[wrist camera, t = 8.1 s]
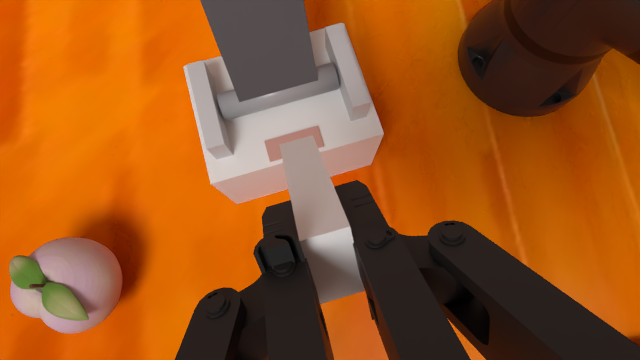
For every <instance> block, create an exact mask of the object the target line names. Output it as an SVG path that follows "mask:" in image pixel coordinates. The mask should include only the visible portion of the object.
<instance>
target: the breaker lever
mask: <svg viewBox="0 0 640 360" xmlns="http://www.w3.org/2000/svg"><path fill="white" fill-rule="evenodd" d="M200 1H201V3H202V6H203V8H204V11H205V14H206V16H207V19H208V22H209V24H210V27H211V29H212V32H213V35H214V37H215V40H216V43H217V45H218V48H219V50H220V53H221V56H222V58H223V61H224V63H225V66H226V69H227V71H228V74H229V77H230V79H231V82H232V84H233V87H234V89H233V90H229V91H226V92H222V93H219V94H217V99H218V103H219V107H220V110H221V112H222V115H223V117H224V119H225V120H226V121H227V120H230V119H234V118H237V117H241V116H245V115H248V114H252V113H255V112H259V111H262V110H266V109H269V108H273V107H277V106H280V105H284V104H287V103H291V102H294V101H298V100H301V99H305V98H309V97H312V96H316V95H319V94H323V93H326V92H330V91H333V90H337V89H339V82H338V77H337V73H336V69H335V67H334V64H333V63H332V62H331V63H327V64H323V65H320V66H316V65H315V60H314V55H313V49H312V44H311V38H310V33H309V27H308V22H307V17H306V11H305V6H304V0H200Z"/></svg>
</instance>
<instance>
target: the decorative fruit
mask: <svg viewBox="0 0 640 360" xmlns="http://www.w3.org/2000/svg"><path fill="white" fill-rule="evenodd" d="M9 273H10V277H11V279H12V282H11V288H10V295H11V299H12V301H13V303H14V305H15V306H16V308H17V309H18V310H19V311H20V312H21V313H23V314H25V315H27V316H30V317H34V318H42V320H43V321H44V323H45V324H46V325H48V326H49V327H50V328H52V329H54V330H56V331H58V332H62V333H79V332H83V331H86V330H88V329H91V328H93V327H94V326H96V325H98V324H99V323H101V322H102V321H103V320H104V319H106V318H107V317H108V316H109V315H110V313H111V312H112V311H113V309H114V308H115V306H116V305H117V303H118V300H119V297H120V294H121V289H122V271H121V268H120V265H119V262H118V260H117V258H116V256H115V255H114V254H113V253H112V251H110V250H109V249H108V248H107V247H106V246H104V245H102V244H100V243H99V242H96V241H94V240H91V239H86V238H78V237H66V238H60V239H56V240H53V241H50V242H48V243H46V244H44V245H42V246H41V247H39V248H38V249H37V250H35V251H34V252H33V253H32V254H31V255H30V256H28V257H27V256H21V255H19V256H15V257H13V258H12V260H11V261H10V265H9Z"/></svg>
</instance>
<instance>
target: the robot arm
mask: <svg viewBox="0 0 640 360" xmlns="http://www.w3.org/2000/svg"><path fill="white" fill-rule="evenodd" d="M612 48H614V49H616V50H617V51H619V52H620V53H622V54H624V55H626V56H627V57H629V58H630V59H632V60H634V61H635V62H637V63H638V64H640V0H492V1H491V2H490V3H488V4H487V5H486V6H484V7H483V8H482V9H481V10H480V11H479V12H478V13H477V14H476V15H475V16H474V17H473V18H472V20H471V21H470V23H469V25H468V26H467V28H466V30H465V32H464V33H463V35H462V38H461V40H460V44H459V48H458V62H459V67H460V71H461V74H462V76H463V78H464V80H465V82H466V84H467V85H468V87H469V88H470V89H471V91H472V92H473V93H474V94H475V95H476V96H477V97H478V98H479V99H480V100H482V101H483V102H484V103H486V104H487V105H489V106H490V107H492V108H494V109H496V110H498V111H501V112H504V113H507V114H510V115H515V116H524V117H532V116H540V115H545V114H548V113H551V112H553V111H555V110H557V109H559V108H561V107H562V106H564V105H565V104H566V103H568V102H569V101H571V100H572V99H574V98H575V97H576V96H577V95H578V94H579V93H580V92H581V91H582V90H583V89H584V88H585V86H586V85H587V84H588V82H589V80H590V78H591V77H592V75H593V73H594V72H595V70H596V68H597V67H598V65H599V63H600V61H601V60H602V58H603V56H604V55H605V54H606V53H607V52H608V51H609V50H611V49H612ZM279 145H280V150H281V155H282V160H283V165H284V170H285V174H286V179H287V184H288V189H289V194H290V198H291V200H290V201H286V202H283V203H279V204H276V205H272V206H269V207H266V209H265V212H264V214H263V216H262V224H263V234H264V235H263V236H264V238H263V239H261V240H260V241H259V242H258V244H257V245H256V246H255V249H254V253H253V254H254V256H255V258H256V261H257V263H258V265H259V268H260V270H261V273H262V275H261V276H260V278H259V279H258V280H257V281H255V282H254V283H253V284H251V285H250V286H248V287H247V288H245V289H243V290H242V291H240V292H238V291H236V290H234V289H232V288H220V289H216V290H214V291H212V292H210V293H208V294H207V295H206V296H205V297H204V298H202V299H201V300H200V301H199V303H198V305H197V306H196V308H195V310H194V313H193V315H192V318H191V320H190V323H189V325H188V328H187V330H186V333H185V335H184V338H183V340H182V343H181V346H180V348H179V351H178V353H177V356H176V358H175V360H334V357H333V353H332V349H331V344H330V340H329V336H328V332H327V327H326V323H325V319H324V316H323V313H322V309H321V306H320V304H322V303H325V302H328V301H332V300H335V299H338V298H342V297H345V296H348V295H352V294H355V293H358V292H362V291H366V294H367V299H368V303H369V308H370V312H371V317H372V320H373V319H374V320H375V323H376V326H377V328H378V331H379V334H380V336H381V339H382V342H383V345H384V347H385V350H386V353H387V355H388V358H389V360H471V359H470V358H469V356H468V354H467V352H466V351H465V349H464V347H463V345H462V344H461V342H460V340H459V338H458V337H457V335H456V333H455V331H454V330H453V328H452V326H451V324H450V323H449V321H448V319H449V320H450V321H451V323H452V324H453V325H454V326H455V327H456V328H457V329H458V330H459V331H460V332H461V333H462V334H463V335H464V336H465V337H466V338H467V340H468V341H469V342H470V343H471V344H472V345H473V346H474V347H475V348H476V349H477V350H478V351H479V352H480V353H481V354H482V355H483V357H484V358H485V359H486V360H640V347H639V346H638V345H637V344H635V343H634V342H632V341H631V340H630V339H628V338H627V337H625V336H624V335H623V334H621V333H620V332H618V331H617V330H616V329H614V328H613V327H611V326H610V325H609V324H607V323H606V322H604V321H603V320H602V319H600V318H599V317H597V316H596V315H595V314H593V313H592V312H590V311H589V310H588V309H586V308H585V307H583V306H582V305H581V304H579V303H578V302H576V301H575V300H574V299H572V298H571V297H569V296H568V295H567V294H565V293H564V292H562V291H561V290H559V289H558V288H557V287H555V286H554V285H552V284H551V283H550V282H548V281H547V280H545V279H544V278H543V277H541V276H540V275H538V274H537V273H536V272H534V271H533V270H531V269H530V268H529V267H527V266H526V265H524V264H523V263H522V262H520V261H519V260H517V259H516V258H515V257H513V256H512V255H510V254H509V253H508V252H506V251H505V250H503V249H502V248H501V247H499V246H498V245H496V244H495V243H494V242H492V241H491V240H489V239H488V238H487V237H485V236H484V235H482V234H481V233H480V232H478V231H477V230H475V229H474V228H473V227H471V226H469V225H467V224H465V223H463V222H459V221H443V222H440V223H437V224H435V225H434V226H433V227H431V228H430V230H429V232H428V236H406V235H401V234H399V233H398V232H397V231H396V230H395V229H393V228H391V227H389V225H388V224H387V222H386V220H385V218H384V217H383V215H382V213H381V211H380V209H379V208H378V206H377V204H376V202H375V200H374V199H373V197H372V195H371V193H370V191H369V190H368V188H367V186H366V185H364V184H363V183H361V182H359V181H358V180H356V181H353V182H349V183H346V184H342V185H339V186H335V187H334V186H333V183H332V181H331V178H330V176H329V173H328V171H327V169H326V166H325V164H324V161H323V159H322V156H321V154H320V152H319V149H318V147H317V144H316V142H315V139H314V137H313V135H311V136H308V137H304V138H300V139H297V140H293V141H290V142H286V143H283V144H279ZM364 288H365V290H364ZM447 318H448V319H447Z"/></svg>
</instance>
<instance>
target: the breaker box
mask: <svg viewBox="0 0 640 360" xmlns="http://www.w3.org/2000/svg"><path fill="white" fill-rule="evenodd" d="M309 33H310V38H311V44H312V49H313V55H314V60H315V65H316V66H320V65H323V64H327V63H331V62H332V63H333V64H334V67H335V69H336V73H337V77H338V82H339V89H337V90H333V91H330V92H326V93H323V94H319V95H316V96H312V97H309V98H305V99H301V100H298V101H294V102H291V103H287V104H284V105H280V106H277V107H273V108H269V109H266V110H262V111H259V112H255V113H252V114H248V115H245V116H241V117H237V118H234V119H230V120H227V121H226V120H225V119H224V117H223V115H222V112H221V110H220V107H219V103H218V99H217V94H219V93H222V92H226V91H229V90H233V89H234V87H233V84H232V82H231V79H230V77H229V74H228V71H227V69H226V66H225V63H224V61H223V58H222V56H219V57H216V58H212V59H208V60H205V61H204V60H201V61H198V62H194V63H190V64H187V65H186V66H183V67H184V72H185V76H186V80H187V85H188V89H189V93H190V97H191V102H192V106H193V110H194V114H195V119H196V123H197V127H198V132H199V136H200V140H201V144H202V149H203V153H204V157H205V161H206V166H207V170H208V174H209V179H210V183H211V184H212V185H213V186H214V187H215V188H217V189H218V190H219V191H221V192H222V193H223V194H225V195H226V196H227V197H228V198H230V199H231V200H232V201H234V202H235V203H236V204H239V203H243V202H246V201H249V200H253V199H256V198H260V197H263V196H266V195H270V194H273V193H277V192H280V191H283V190H287V189H288V184H287V179H286V174H285V170H284V165H283V160H282V155H281V150H280V145H279V144H283V143H286V142H290V141H293V140H297V139H300V138H304V137H308V136H311V135H313V137H314V139H315V142H316V144H317V147H318V149H319V152H320V154H321V156H322V159H323V161H324V164H325V166H326V169H327V171H328V173H329V176H330V177H331V176H335V175H338V174H341V173H345V172H348V171H352V170H355V169H358V168H362V167H365V166H369V165H371V164H372V161H373V159H374V157H375V154H376V152H377V149H378V147H379V145H380V142H381V140H382V137H383V135H384V132H383V129H382V127H381V124H380V121H379V118H378V116H377V113H376V110H375V107H374V104H373V102H372V99H371V96H370V93H369V91H368V88H367V85H366V82H365V80H364V77H363V74H362V71H361V69H360V66H359V63H358V60H357V58H356V55H355V52H354V49H353V47H352V44H351V41H350V38H349V35H348V33H347V30H346V27H345V24H344V23H338V24H334V25H331V26H327V27H325V28H323V29H319V30H315V31H312V32H309Z"/></svg>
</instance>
